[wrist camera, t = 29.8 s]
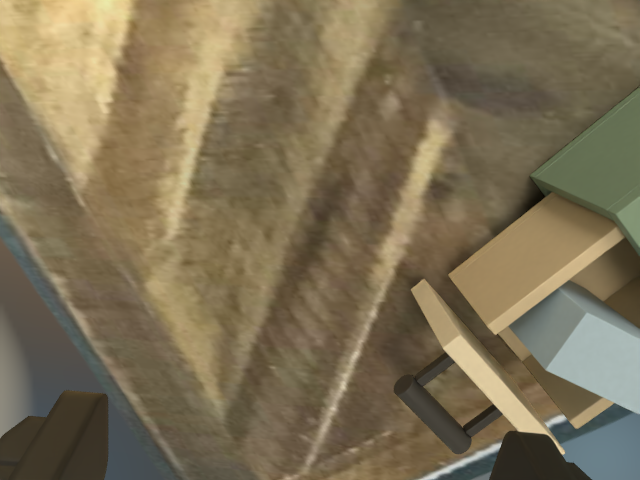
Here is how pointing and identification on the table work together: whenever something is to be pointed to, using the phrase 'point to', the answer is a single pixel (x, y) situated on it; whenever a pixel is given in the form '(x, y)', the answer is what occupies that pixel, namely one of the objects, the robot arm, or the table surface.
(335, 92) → the table surface
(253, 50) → the table surface
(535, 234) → the drawer
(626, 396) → the tall grey-blue block
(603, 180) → the cabinet
